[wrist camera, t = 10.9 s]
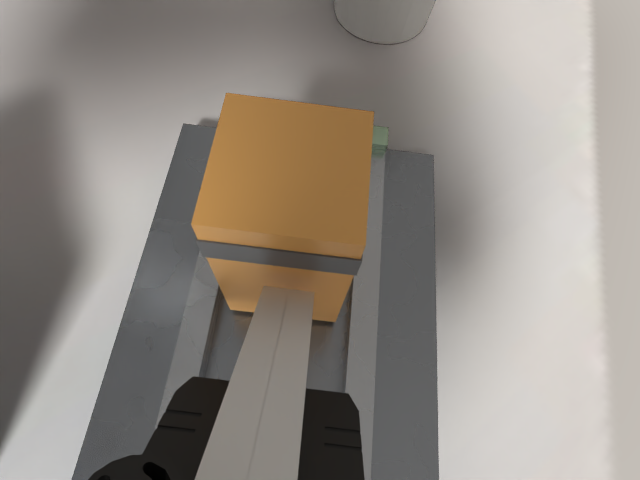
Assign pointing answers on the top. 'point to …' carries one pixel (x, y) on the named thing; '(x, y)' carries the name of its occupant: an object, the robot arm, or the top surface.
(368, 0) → the coffee cup
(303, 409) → the robot arm
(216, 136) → the handle
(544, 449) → the top surface
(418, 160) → the grey sliding tray
